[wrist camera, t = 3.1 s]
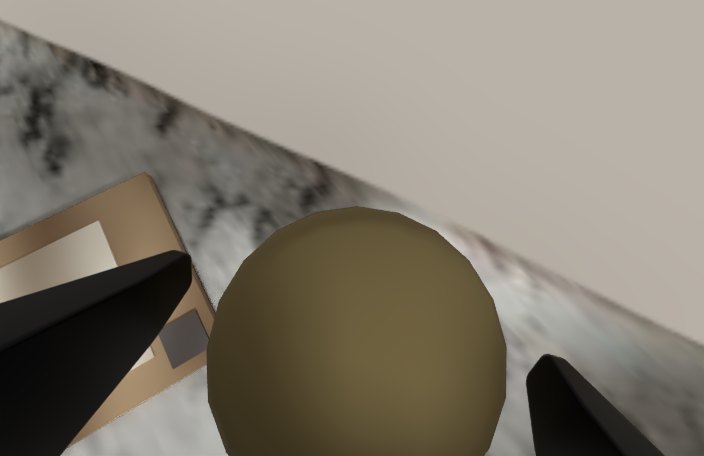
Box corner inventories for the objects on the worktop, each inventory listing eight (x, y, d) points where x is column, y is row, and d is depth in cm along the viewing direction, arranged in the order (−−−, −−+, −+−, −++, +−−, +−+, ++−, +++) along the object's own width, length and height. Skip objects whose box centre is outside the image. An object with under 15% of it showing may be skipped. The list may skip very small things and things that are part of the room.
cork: (286, 265, 16) (169, 152, 5) (408, 265, 16) (542, 155, 5) (279, 401, 14) (81, 662, 3) (415, 399, 14) (636, 640, 4)
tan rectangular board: (-49, 517, 12) (-69, 527, 12) (-99, 295, 15) (-117, 294, 14) (231, 349, 14) (227, 350, 14) (150, 176, 17) (143, 170, 16)
